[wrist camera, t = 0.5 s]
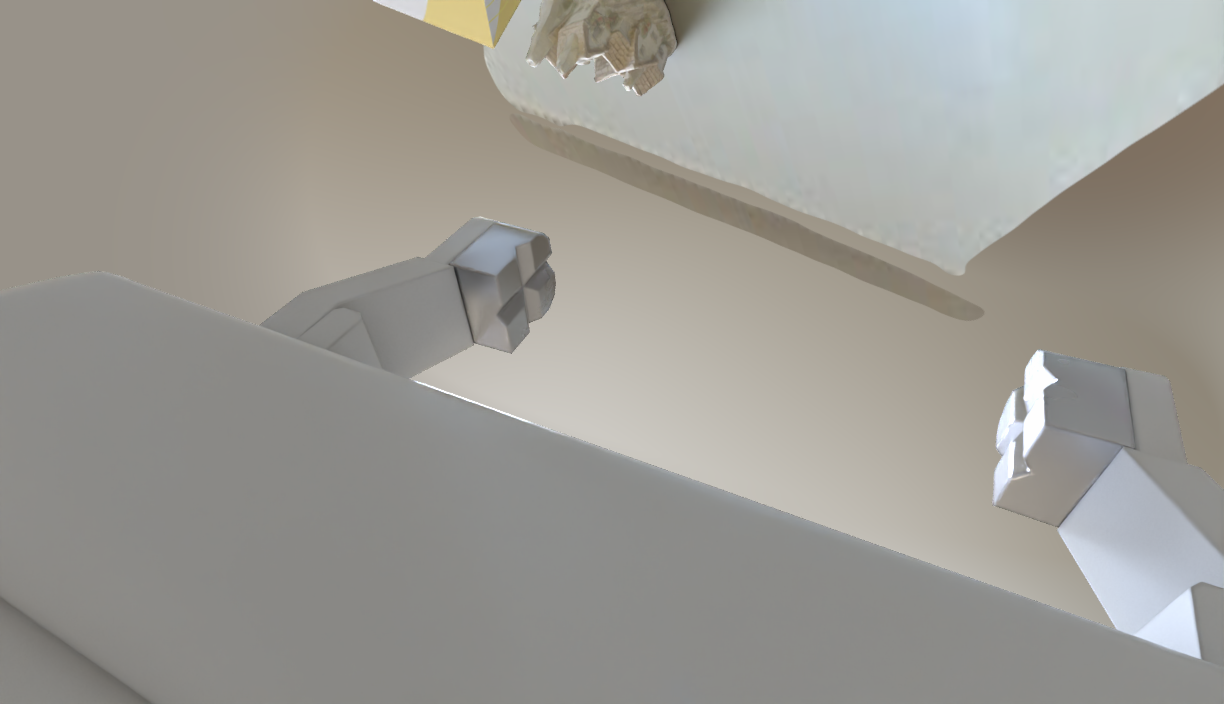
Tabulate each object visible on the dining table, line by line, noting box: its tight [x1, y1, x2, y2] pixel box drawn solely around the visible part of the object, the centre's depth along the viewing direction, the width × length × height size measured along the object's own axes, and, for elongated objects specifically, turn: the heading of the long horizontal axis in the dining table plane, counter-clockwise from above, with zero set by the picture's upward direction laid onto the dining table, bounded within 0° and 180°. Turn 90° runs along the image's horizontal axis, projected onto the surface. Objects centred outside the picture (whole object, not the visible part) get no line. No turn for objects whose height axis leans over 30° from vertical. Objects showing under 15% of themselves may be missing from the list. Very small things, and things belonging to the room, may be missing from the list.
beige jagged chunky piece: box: [526, 0, 677, 97], centre depth 79 cm, size 16×16×15 cm
